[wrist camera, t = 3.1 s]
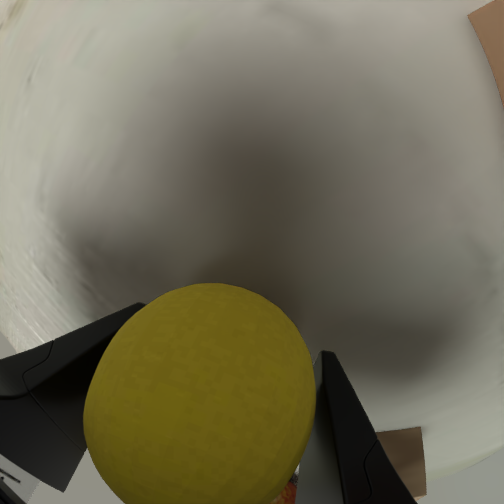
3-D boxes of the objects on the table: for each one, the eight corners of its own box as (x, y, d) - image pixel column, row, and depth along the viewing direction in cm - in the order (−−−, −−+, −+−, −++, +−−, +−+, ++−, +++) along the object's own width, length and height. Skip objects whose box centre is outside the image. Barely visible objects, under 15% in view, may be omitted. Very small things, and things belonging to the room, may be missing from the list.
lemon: (251, 375, 11) (195, 541, 4) (150, 298, 11) (31, 454, 4) (353, 313, 9) (350, 564, 2) (230, 200, 8) (5, 460, 1)
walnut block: (420, 425, 11) (426, 494, 7) (398, 454, 14) (398, 510, 9) (343, 433, 13) (337, 506, 8) (334, 459, 15) (327, 516, 10)
